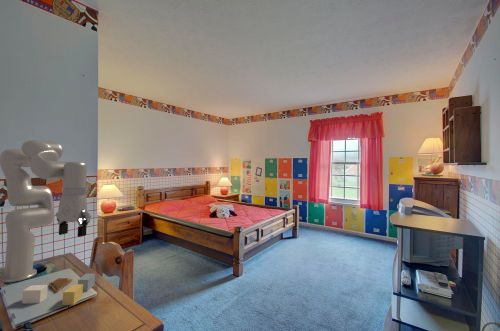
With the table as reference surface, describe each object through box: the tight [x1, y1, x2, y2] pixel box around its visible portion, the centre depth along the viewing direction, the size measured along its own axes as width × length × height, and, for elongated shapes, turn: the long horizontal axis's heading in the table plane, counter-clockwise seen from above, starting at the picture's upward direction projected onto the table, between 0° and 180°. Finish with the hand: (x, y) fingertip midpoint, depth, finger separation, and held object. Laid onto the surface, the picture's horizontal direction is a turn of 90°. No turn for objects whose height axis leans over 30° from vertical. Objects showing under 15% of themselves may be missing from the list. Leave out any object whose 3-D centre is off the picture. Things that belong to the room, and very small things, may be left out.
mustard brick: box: [61, 283, 84, 306], centre depth 93 cm, size 6×4×5 cm, turn 9°
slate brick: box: [77, 273, 96, 292], centre depth 103 cm, size 6×4×5 cm, turn 9°
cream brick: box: [21, 284, 49, 304], centre depth 92 cm, size 6×4×5 cm, turn 99°
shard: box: [48, 277, 74, 293], centre depth 103 cm, size 11×8×2 cm
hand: (72, 235), depth 94 cm, fingers open, 9 cm apart
